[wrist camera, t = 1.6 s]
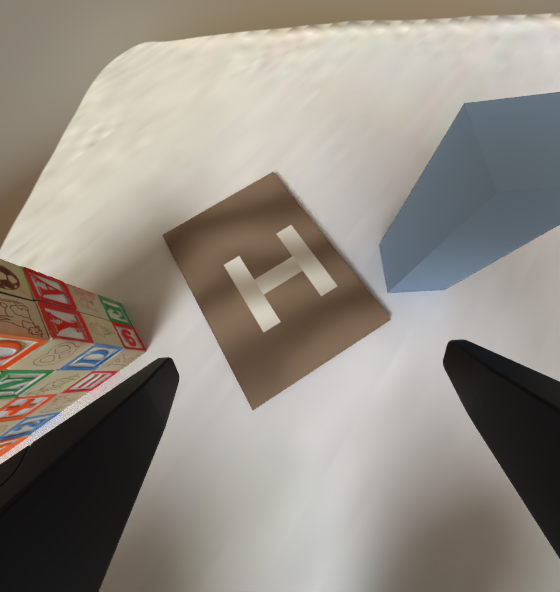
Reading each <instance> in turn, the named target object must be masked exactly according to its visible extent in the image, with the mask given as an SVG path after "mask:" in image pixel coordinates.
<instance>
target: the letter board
mask: <svg viewBox="0 0 560 592" xmlns="http://www.w3.org/2000/svg"><path fill="white" fill-rule="evenodd" d="M163 237H164V239H165V241H166V243H167V245H168V247H169V249H170V251H171V253H172V254H173V256H174V258H175V260H176V262H177V264H178V266H179V268H180V270H181V272H182V274H183V276H184V278H185V280H186V282H187V284H188V286H189V287H190V289H191V291H192V293H193V295H194V297H195V299H196V301H197V303H198V305H199V307H200V309H201V311H202V313H203V315H204V317H205V319H206V320H207V322H208V324H209V326H210V328H211V330H212V332H213V334H214V336H215V338H216V340H217V342H218V344H219V346H220V348H221V350H222V352H223V353H224V355H225V357H226V359H227V361H228V363H229V365H230V367H231V369H232V371H233V373H234V375H235V377H236V379H237V381H238V383H239V385H240V386H241V388H242V390H243V392H244V394H245V396H246V398H247V400H248V402H249V404H250V406H251V408H252V410H254V409H255V408H257V407H259V406H260V405H262V404H263V403H265V402H266V401H268V400H269V399H271V398H272V397H274V396H275V395H277V394H278V393H280V392H281V391H283V390H284V389H286V388H287V387H289V386H291V385H292V384H294V383H295V382H297V381H298V380H300V379H301V378H303V377H304V376H306V375H307V374H309V373H310V372H312V371H313V370H315V369H316V368H318V367H319V366H321V365H322V364H324V363H326V362H327V361H329V360H330V359H332V358H333V357H335V356H336V355H338V354H339V353H341V352H342V351H344V350H345V349H347V348H348V347H350V346H351V345H353V344H354V343H356V342H358V341H359V340H361V339H362V338H364V337H365V336H367V335H368V334H370V333H371V332H373V331H374V330H376V329H377V328H379V327H380V326H382V325H383V324H385V323H386V322H388V321H389V320H391V319H390V317H389V316H388V315H387V314H386V312H385V311H384V310H383V309H382V307H381V306H380V305H379V304H378V302H377V301H376V300H375V299H374V297H373V296H372V295H371V294H370V292H369V291H368V290H367V289H366V287H365V286H364V285H363V284H362V282H361V281H360V280H359V279H358V277H357V276H356V275H355V274H354V273H353V271H352V270H351V269H350V268H349V266H348V265H347V264H346V263H345V261H344V260H343V259H342V258H341V256H340V255H339V254H338V253H337V251H336V250H335V249H334V248H333V246H332V245H331V244H330V243H329V241H328V240H327V239H326V238H325V236H324V235H323V234H322V233H321V231H320V230H319V229H318V228H317V226H316V225H315V224H314V223H313V221H312V220H311V219H310V218H309V216H308V215H307V214H306V213H305V211H304V210H303V209H302V208H301V206H300V205H299V204H298V203H297V202H296V200H295V199H294V198H293V197H292V195H291V194H290V193H289V192H288V190H287V189H286V188H285V187H284V185H283V184H282V183H281V182H280V180H279V179H278V178H277V177H276V175H275V174H274V173H273V172H272V173H270V174H268V175H267V176H265V177H263V178H261V179H260V180H258V181H256V182H254V183H253V184H251V185H249V186H247V187H246V188H244V189H242V190H240V191H239V192H237V193H235V194H233V195H232V196H230V197H228V198H226V199H225V200H223V201H221V202H219V203H218V204H216V205H214V206H212V207H211V208H209V209H207V210H205V211H204V212H202V213H200V214H198V215H197V216H195V217H193V218H191V219H190V220H188V221H186V222H184V223H183V224H181V225H179V226H178V227H176V228H174V229H172V230H171V231H169V232H167V233H165V234H164V235H163Z"/></svg>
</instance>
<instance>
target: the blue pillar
mask: <svg viewBox="0 0 560 592" xmlns="http://www.w3.org/2000/svg"><path fill="white" fill-rule="evenodd" d="M558 225H560V92H555V93H547V94H539V95H530V96H522V97H514V98H505V99H497V100H489V101H480V102H472V103H464V105H463V106H462V108H461V110H460V111H459V113H458V115H457V116H456V118H455V120H454V121H453V123H452V125H451V126H450V128H449V130H448V131H447V133H446V135H445V136H444V138H443V140H442V141H441V143H440V145H439V146H438V148H437V150H436V151H435V153H434V155H433V156H432V158H431V160H430V161H429V163H428V165H427V166H426V168H425V170H424V171H423V173H422V175H421V176H420V178H419V180H418V181H417V183H416V185H415V186H414V188H413V190H412V191H411V193H410V195H409V196H408V198H407V200H406V201H405V203H404V205H403V206H402V208H401V210H400V211H399V213H398V215H397V216H396V218H395V220H394V221H393V223H392V225H391V226H390V228H389V230H388V231H387V233H386V235H385V236H384V238H383V240H382V241H381V243H380V245H379V246H380V252H381V257H382V263H383V269H384V275H385V280H386V286H387V292H388V293H396V292H414V291H431V290H445V289H447V288H449V287H451V286H452V285H454V284H456V283H458V282H459V281H461V280H463V279H465V278H466V277H468V276H470V275H472V274H473V273H475V272H477V271H479V270H481V269H482V268H484V267H486V266H488V265H489V264H491V263H493V262H495V261H496V260H498V259H500V258H502V257H503V256H505V255H507V254H509V253H511V252H512V251H514V250H516V249H518V248H519V247H521V246H523V245H525V244H526V243H528V242H530V241H532V240H533V239H535V238H537V237H539V236H540V235H542V234H544V233H546V232H548V231H549V230H551V229H553V228H555V227H556V226H558Z"/></svg>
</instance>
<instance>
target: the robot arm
mask: <svg viewBox="0 0 560 592" xmlns="http://www.w3.org/2000/svg"><path fill="white" fill-rule="evenodd" d="M443 365H444V368H445V370H446V372H447V374H448V376H449V378H450V380H451V382H452V384H453V386H454V388H455V390H456V392H457V394H458V396H459V398H460V400H461V402H462V404H463V406H464V408H465V410H466V411H467V413H468V415H469V417H470V418H471V420H472V422H473V423H474V425H475V427H476V428H477V430H478V431H479V433H480V434H481V436H482V437H483V439H484V441H485V442H486V444H487V445H488V447H489V448H490V450H491V452H492V453H493V455H494V456H495V458H496V459H497V461H498V463H499V464H500V466H501V467H502V469H503V470H504V472H505V474H506V475H507V477H508V478H509V480H510V481H511V483H512V485H513V486H514V488H515V489H516V491H517V492H518V494H519V496H520V497H521V499H522V500H523V502H524V503H525V505H526V507H527V508H528V510H529V511H530V513H531V514H532V516H533V518H534V519H535V521H536V522H537V524H538V525H539V527H540V529H541V530H542V532H543V533H544V535H545V536H546V538H547V540H548V541H549V543H550V544H551V546H552V547H553V549H554V550H555V552H556V554H557V555H558V557H559V558H560V382H559V381H557V380H555V379H552V378H550V377H548V376H546V375H543V374H541V373H539V372H537V371H534V370H532V369H530V368H528V367H525V366H523V365H521V364H519V363H516V362H514V361H512V360H510V359H508V358H505V357H503V356H501V355H499V354H496V353H494V352H492V351H490V350H487V349H485V348H483V347H481V346H478V345H476V344H474V343H472V342H469V341H467V340H451V341H449V342H448V344H447V347H446V351H445V355H444V359H443ZM178 383H179V374H178V371H177V369H176V366H175V364H174V362H173V359H172V358H169V357H166V358H158V359H156V360H155V361H153V362H152V363H150V364H149V365H147V366H146V367H144V368H143V369H141V370H140V371H138V372H137V373H135V374H134V375H132V376H131V377H129V378H128V379H127V380H125V381H124V382H122V383H121V384H119V385H118V386H116V387H115V388H113V389H112V390H110V391H109V392H107V393H106V394H104V395H103V396H101V397H100V398H98V399H97V400H95V401H94V402H92V403H91V404H89V405H88V406H86V407H85V408H83V409H82V410H80V411H79V412H78V413H76V414H75V415H73V416H72V417H70V418H69V419H67V420H66V421H64V422H63V423H61V424H60V425H58V426H57V427H55V428H54V429H52V430H51V431H49V432H48V433H46V434H45V435H43V436H42V437H40V438H39V439H37V440H36V441H34V442H33V443H32V444H31V446H27V447H25V448H24V449H22V450H21V451H20V452H18V453H17V454H15V455H14V456H12V457H11V458H9V459H8V460H6V461H5V462H3V463H2V464H0V592H99V590H100V587H101V585H102V582H103V580H104V577H105V575H106V572H107V570H108V567H109V565H110V562H111V560H112V557H113V555H114V553H115V550H116V548H117V545H118V543H119V540H120V538H121V535H122V533H123V530H124V528H125V525H126V523H127V520H128V518H129V516H130V513H131V511H132V508H133V506H134V503H135V501H136V498H137V496H138V493H139V491H140V488H141V486H142V483H143V481H144V479H145V476H146V474H147V471H148V469H149V466H150V464H151V461H152V459H153V456H154V454H155V451H156V449H157V446H158V444H159V441H160V439H161V437H162V434H163V431H164V429H165V426H166V423H167V420H168V417H169V414H170V410H171V407H172V404H173V400H174V397H175V393H176V390H177V387H178Z"/></svg>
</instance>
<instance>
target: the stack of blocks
mask: <svg viewBox="0 0 560 592" xmlns="http://www.w3.org/2000/svg"><path fill="white" fill-rule="evenodd" d="M145 352H146V349H145V348H144V346H143V344H142V342H141V340H140V338H139V336H138V334H137V332H136V331H135V329H134V327H133V326H132V324H131V322H130V320H129V318H128V316H127V315H126V313H125V311H124V309H123V307H122V305H121V304H120V303H118V302H115V301H113V300H110V299H108V298H105V297H102V296H99V295H95V294H93V293H90V292H88V291H85V290H82V289H80V288H77V287H75V286H72V285H69V284H65V283H64V282H62V281H60V280H58V279H55V278H53V277H50V276H47V275H44V274H42V273H40V272H36V271H34V270H31V269H29V268H26V267H21V266H18V265H15V264H12V263H10V262H7V261H4V260H2V259H0V456H2V455H3V454H5V453H6V452H8V451H9V450H10V449H12V448H13V447H15V446H16V445H17V444H19V443H20V442H22V441H23V440H24V439H26V438H27V437H28V436H30V434H31V433H32V432H34V431H36V430H37V429H38V428H40V427H41V426H42V425H44V424H45V423H47V422H48V421H49V420H51V419H52V418H53V417H55V416H56V415H58V414H59V413H60V412H61V411H62V410H64V409H66V408H67V407H68V406H70V405H71V404H72V403H74V402H75V401H77V400H78V399H79V398H81V397H82V396H84V395H85V394H86V393H88V392H89V391H91V390H93V389H94V388H96V387H97V386H99V385H100V384H102V383H103V382H104V381H106V380H107V379H108V378H110V377H111V376H113V375H114V374H115V373H117V372H118V371H119V370H121V369H123V368H124V367H126V366H127V365H128V364H130V363H131V362H133V361H134V360H135V359H137V358H138V357H140V356H141V355H142V354H144V353H145Z"/></svg>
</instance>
